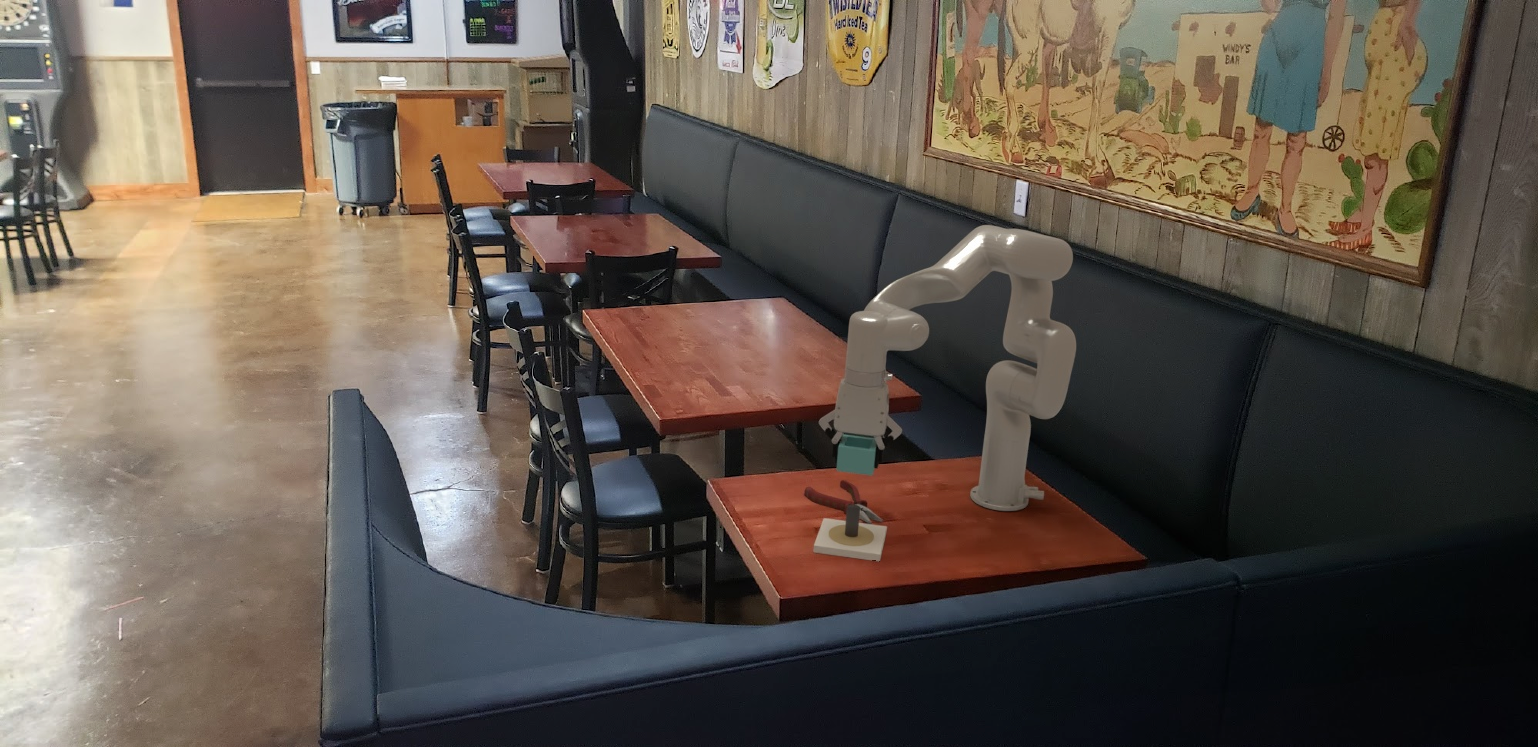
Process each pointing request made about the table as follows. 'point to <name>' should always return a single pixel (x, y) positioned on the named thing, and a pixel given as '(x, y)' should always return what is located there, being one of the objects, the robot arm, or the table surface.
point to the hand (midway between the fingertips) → (857, 462)
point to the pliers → (843, 501)
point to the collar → (856, 455)
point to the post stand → (850, 537)
